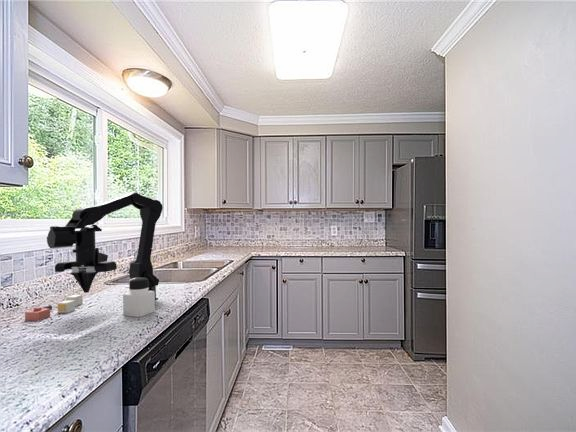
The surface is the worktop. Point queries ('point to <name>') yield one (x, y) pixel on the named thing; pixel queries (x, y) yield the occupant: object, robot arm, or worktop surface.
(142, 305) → the medicine bottle
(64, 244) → the robot arm
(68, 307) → the matte white cube
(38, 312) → the cap
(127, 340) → the worktop surface
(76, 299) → the white square block
